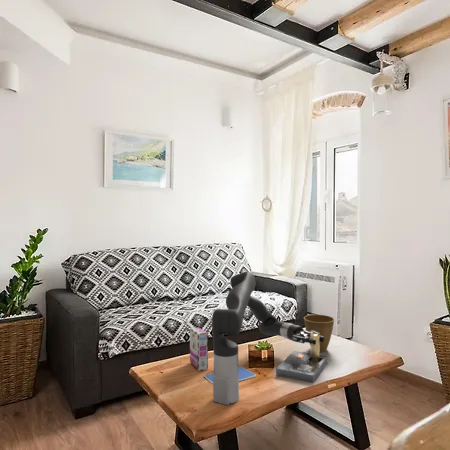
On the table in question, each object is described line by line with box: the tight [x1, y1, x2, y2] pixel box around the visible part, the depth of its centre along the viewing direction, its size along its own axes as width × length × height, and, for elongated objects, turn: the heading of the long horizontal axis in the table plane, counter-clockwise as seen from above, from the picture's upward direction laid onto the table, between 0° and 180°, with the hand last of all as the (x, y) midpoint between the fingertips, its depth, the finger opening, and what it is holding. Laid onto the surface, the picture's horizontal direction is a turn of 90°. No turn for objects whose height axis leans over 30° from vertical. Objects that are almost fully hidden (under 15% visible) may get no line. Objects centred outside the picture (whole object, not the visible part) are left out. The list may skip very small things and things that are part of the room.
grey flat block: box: [275, 350, 328, 384], centre depth 169 cm, size 24×16×3 cm, turn 152°
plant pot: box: [303, 313, 335, 353], centre depth 194 cm, size 15×15×16 cm
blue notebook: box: [203, 365, 257, 384], centre depth 162 cm, size 19×13×1 cm, turn 122°
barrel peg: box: [309, 334, 321, 362], centre depth 173 cm, size 4×4×14 cm
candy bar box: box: [189, 326, 209, 371], centre depth 174 cm, size 11×5×16 cm, turn 25°
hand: (319, 340), depth 170 cm, fingers open, 5 cm apart
